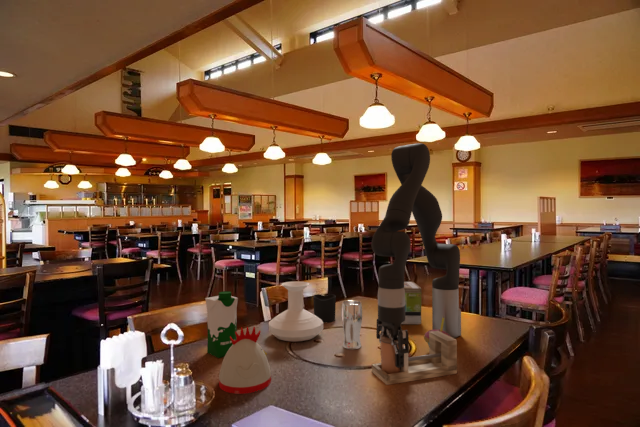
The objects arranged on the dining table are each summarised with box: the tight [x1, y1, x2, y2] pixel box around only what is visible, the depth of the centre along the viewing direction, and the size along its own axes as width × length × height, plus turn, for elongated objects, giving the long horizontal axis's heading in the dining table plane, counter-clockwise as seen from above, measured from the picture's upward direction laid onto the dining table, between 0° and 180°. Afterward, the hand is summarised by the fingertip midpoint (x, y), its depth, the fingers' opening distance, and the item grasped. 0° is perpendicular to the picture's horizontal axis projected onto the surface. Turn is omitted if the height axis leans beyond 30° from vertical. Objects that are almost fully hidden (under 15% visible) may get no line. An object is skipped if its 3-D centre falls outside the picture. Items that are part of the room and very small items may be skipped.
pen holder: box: [312, 294, 337, 324], centre depth 170 cm, size 9×9×10 cm
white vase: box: [268, 280, 324, 342], centre depth 149 cm, size 20×20×19 cm
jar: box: [380, 335, 400, 374], centre depth 113 cm, size 5×5×10 cm
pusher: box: [400, 345, 441, 372], centre depth 116 cm, size 19×6×7 cm, turn 108°
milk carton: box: [204, 290, 239, 359], centre depth 132 cm, size 9×9×20 cm
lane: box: [371, 331, 458, 386], centre depth 115 cm, size 22×9×10 cm, turn 108°
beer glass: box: [341, 299, 363, 350], centre depth 137 cm, size 7×7×15 cm
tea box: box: [401, 281, 422, 325], centre depth 170 cm, size 15×10×15 cm, turn 179°
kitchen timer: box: [218, 326, 272, 395], centre depth 110 cm, size 14×14×15 cm
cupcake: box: [423, 316, 451, 346], centre depth 131 cm, size 9×8×12 cm
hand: (391, 361), depth 113 cm, fingers open, 8 cm apart
